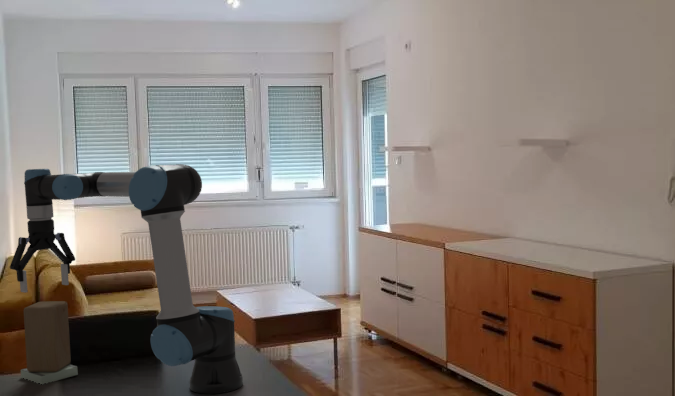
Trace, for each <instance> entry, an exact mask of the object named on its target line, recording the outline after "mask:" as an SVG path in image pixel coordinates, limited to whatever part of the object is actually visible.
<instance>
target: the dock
mask: <svg viewBox="0 0 675 396" xmlns="http://www.w3.org/2000/svg"><path fill="white" fill-rule="evenodd" d="M78 372H79V371H78V366H77V365H73V364H71V363H70V364H68V365H67V366H65V367H63V368H62V369H60V370H59V371H57V372H29V371H28V370H27V368H22V369H20V378H21V379H23V378H24V379H23V380H26V379H28V380H27V381H29V380H31V381H30V382H32V381H34V382H33V383H35V382H37V383H36V384H38V383H40V384H39V385H41V384H42V385H45V384H44V383H46V384H49V383H48V382H50V383H52V381H53V382H56V381H59V380H64V379H67V378H70V377H74V376H78V375H79V373H78Z"/></svg>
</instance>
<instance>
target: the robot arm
mask: <svg viewBox="0 0 675 396" xmlns="http://www.w3.org/2000/svg"><path fill="white" fill-rule="evenodd" d="M23 183H24V184H23V185H24V193H25V194H24V195H25V205H26V207H25V208H26V217H27V220H28V221H27V223H26V224H27V233H28V236H27V237H22V236H19V237H18V238H17V239H18V240H17V241H18V243H17V247H16V250H15V252H14V254H13V257H12V259H11V262H10V265H9V270H14V271H16V280H17V282H18V283H19V284H20V285H19V288H20V292H21V293H28V279H27V278H28V277H27V276H28V275H27V270H26V269H25V268H26V267H27V265H28V264H29V262H30V260H31V259H32V257H33V256H34V254H35V253H37V251H43V250H50V251H51V252H52V253H53V254H54V255H55V256H56V257H57V258H58V259H59V260H60V261H61V262H62V263H60V274H61V285H63V286H69V284H70V283H69V274H70V273H71V265H72V262H74V261H76V257H75V255H74V254H73V252H72V250H71V248H70V246H69V245H68V242H67V241H66V238H65V237H66V236H65V233H63V232H57V233H55V221H54V220H53V218H54V206H53V205H54V203H53V200H54V201H55V200H56V201H57V200H59V201H70V200H71V201H72V200H75V199H82V198H83V199H84V198H95V197H96V198H97V197H98V198H100V197H101V198H102V197H107V198H109V197H113V198H115V197H119V198H121V197H122V198H123V197H124V198H126V197H127V198H129V200H130V202H131V205H133V206H134V208H136V209H137V210H139V211H140V216H141V219H143V220H144V221H145V222H147V225H148V232H149V238H150V239H149V240H150V243H151V244H150V245H151V250H152V258H153V264H154V265H153V266H154V272H155V278H156V279H155V280H156V284H157V285H156V286H157V292H158V298H159V299H158V300H159V305H160V311H159V313H158V314H157V316H156V317H155V318H156V327H155V328H154V329H153V330H152V333H151V334H150V341H149V342H150V347H151V350H152V352H153V354H154V355H155V357H156V359H157V360H160V362H161V363H162V364H164V365H166V366H169V367H177V366H181V365H186V364H189V363H190V362H192V361H194V362H193V367H192V371H191V376H190V378H189V389H190V390H191V391H192V392H194V393H196V394H197V393H198V394H205V395H207V394H208V395H215V394H217V395H218V394H223V393H229V392H233V391H236V390H238V389H240V388H241V387H242V386H243V384H244V382H243V381H244V380H243V374H242V373H241V370H240V366H239V364H238V361H237V358H236V357H237V356H236V339H235V337H236V333H235V323H236V321H235V317H234V316H235V315H234V311H233V309H231V308H230V307H225V306H215V305H214V306H213V305H211V306H210V305H208V306H195V305H194V304H193V297H192V290H191V283H190V277H189V275H190V274H189V269H188V263H187V255H186V250H185V244H184V243H185V242H184V236H183V228H182V222H181V217H182V216H183V214H184V213H185V212H186V210H185V205H189V204H191V203H193V202H195V201H196V199H198V197H199V196H200V194H201V192H202V188H203V182H202V178H201V175H200V173H199V172H198V171H197V170H196V169H195V168H194V167H192V166H190V165H187V164H181V163H180V164H177V163H176V164H152V165H148V166H143V167H141V168H139V169H137V170H136V171H113V172H110V171H107V172H105V171H95V172H83V173H82V172H81V173H80V172H79V173H61V174H52V172H51V169H49V168H32V169H31V168H29V169H26V170H25V171H24V182H23ZM55 240H56V241H57V242H58V244H59V247H60V248H61V249H62V250H61V249H60V248H59V247H58V245H57V244H56V243H55ZM28 243H29V246H28V247H27V246H26V245H28ZM26 247H27V249H26ZM25 249H26V251H25ZM24 252H25V254H24ZM23 254H24V255H23ZM70 264H71V265H70ZM24 269H25V270H24Z"/></svg>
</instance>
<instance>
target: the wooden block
mask: <svg viewBox="0 0 675 396" xmlns="http://www.w3.org/2000/svg"><path fill="white" fill-rule="evenodd" d="M68 305H69V304H68V301H64V300H61V301H60V300H59V301H58V300H57V301H38V302H35V303H33V304H31V305H28V306H26V307H24V308H23V323H24V326H23V327H24V339H25V340H24V342H25V356H26V369H27V370H28V371H29V372H57V371H59V370H60V369H62V368H63V367H65V366H67V365H68V364H70V365H71V344H70V343H71V342H70V341H71V340H70V327H69V323H70V322H69V307H68Z"/></svg>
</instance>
